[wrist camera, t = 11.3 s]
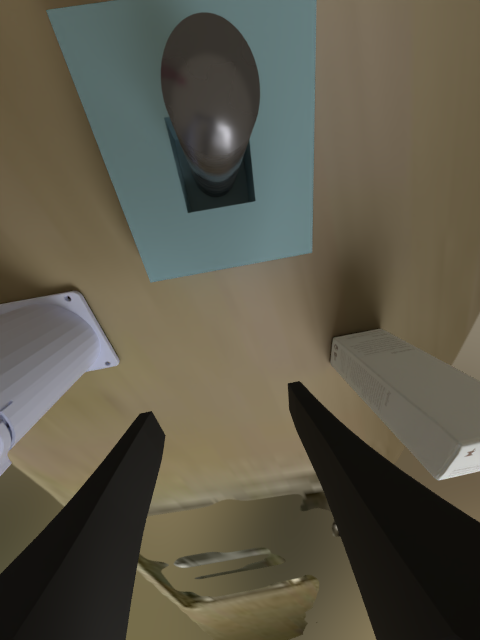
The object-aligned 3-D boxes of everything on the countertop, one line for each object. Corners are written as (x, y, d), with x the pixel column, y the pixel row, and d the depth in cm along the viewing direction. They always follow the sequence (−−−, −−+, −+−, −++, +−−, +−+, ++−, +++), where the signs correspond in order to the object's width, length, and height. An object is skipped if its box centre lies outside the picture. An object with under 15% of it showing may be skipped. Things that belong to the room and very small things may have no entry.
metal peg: (201, 202, 13) (185, 167, 6) (185, 151, 12) (141, 31, 5) (240, 190, 13) (268, 140, 6) (228, 137, 12) (246, -4, 5)
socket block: (162, 274, 16) (150, 282, 13) (90, 67, 10) (45, 10, 8) (296, 249, 16) (311, 252, 13) (292, 37, 11) (316, -28, 8)
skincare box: (328, 364, 23) (432, 487, 12) (331, 334, 21) (458, 447, 10) (376, 355, 23) (522, 467, 12) (383, 324, 21) (566, 424, 10)
